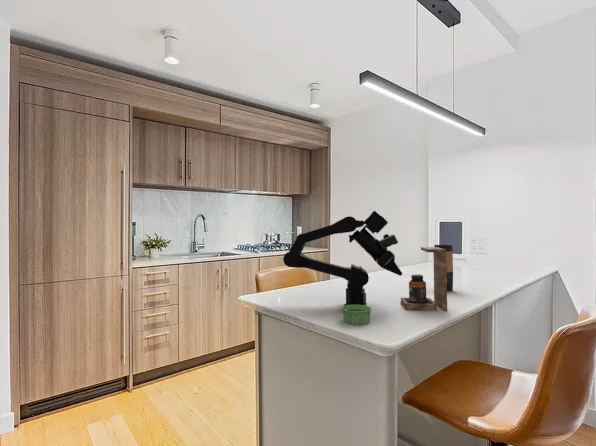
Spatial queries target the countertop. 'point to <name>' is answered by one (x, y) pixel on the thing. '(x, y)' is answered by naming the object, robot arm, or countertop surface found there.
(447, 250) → the travel mug
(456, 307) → the countertop surface
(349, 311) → the ramekin
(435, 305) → the stand
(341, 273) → the robot arm
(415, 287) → the supplement bottle
